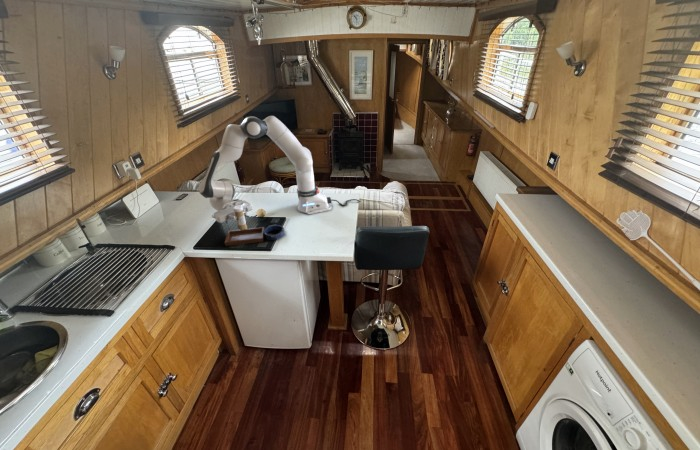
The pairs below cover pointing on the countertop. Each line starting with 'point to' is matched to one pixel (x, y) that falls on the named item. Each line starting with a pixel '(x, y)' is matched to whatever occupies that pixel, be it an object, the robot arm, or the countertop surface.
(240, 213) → the sprinkles bottle
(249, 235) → the tray
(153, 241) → the countertop surface
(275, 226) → the enamel pot
